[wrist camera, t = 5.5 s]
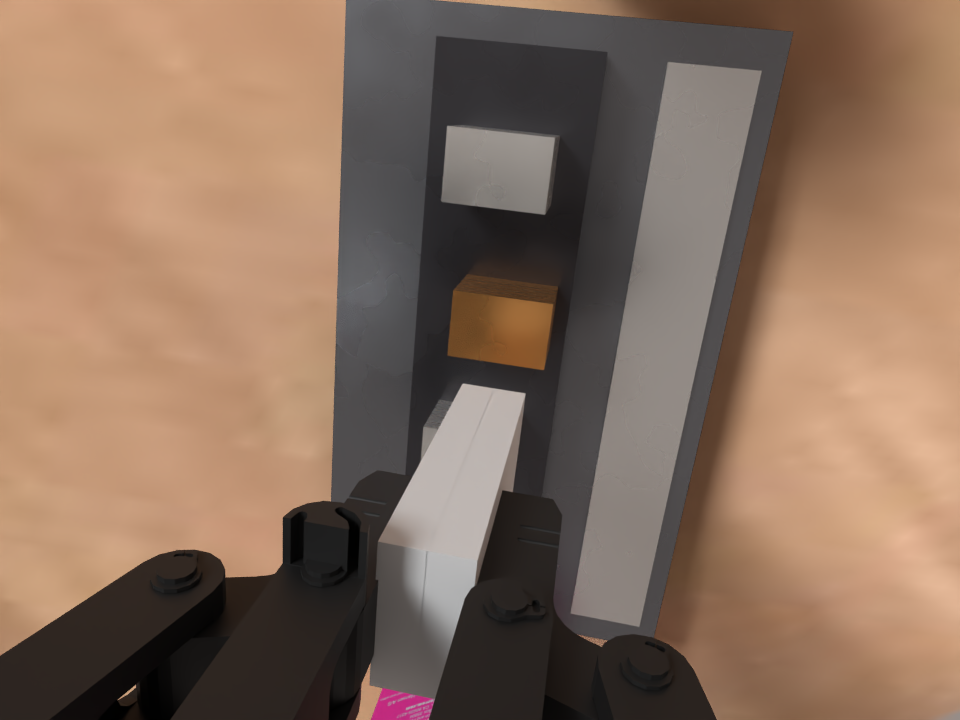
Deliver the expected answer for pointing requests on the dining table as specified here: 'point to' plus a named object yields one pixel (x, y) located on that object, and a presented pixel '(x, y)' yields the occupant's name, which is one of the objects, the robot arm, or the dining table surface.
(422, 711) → the supplement box
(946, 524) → the dining table surface
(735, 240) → the breaker panel
